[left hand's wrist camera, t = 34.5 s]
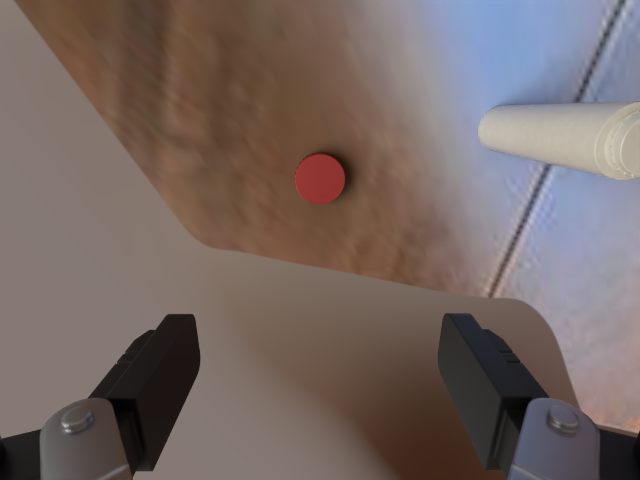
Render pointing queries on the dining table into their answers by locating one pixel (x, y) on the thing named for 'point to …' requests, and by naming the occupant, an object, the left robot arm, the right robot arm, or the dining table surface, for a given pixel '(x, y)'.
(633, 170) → the jar
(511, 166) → the dining table surface
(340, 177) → the lid
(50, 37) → the dining table surface
